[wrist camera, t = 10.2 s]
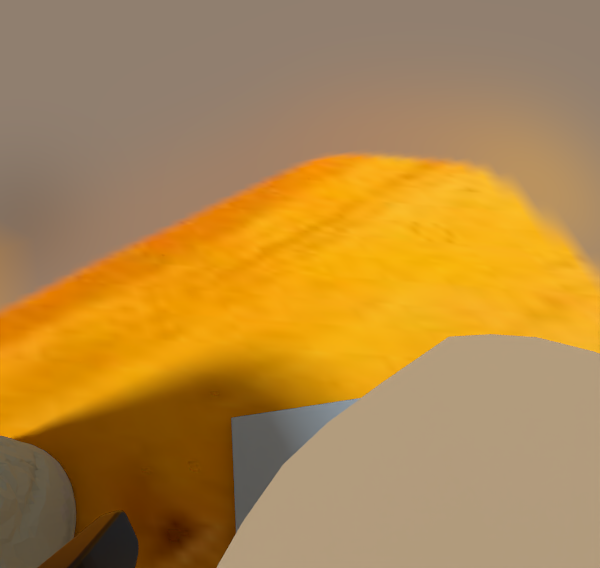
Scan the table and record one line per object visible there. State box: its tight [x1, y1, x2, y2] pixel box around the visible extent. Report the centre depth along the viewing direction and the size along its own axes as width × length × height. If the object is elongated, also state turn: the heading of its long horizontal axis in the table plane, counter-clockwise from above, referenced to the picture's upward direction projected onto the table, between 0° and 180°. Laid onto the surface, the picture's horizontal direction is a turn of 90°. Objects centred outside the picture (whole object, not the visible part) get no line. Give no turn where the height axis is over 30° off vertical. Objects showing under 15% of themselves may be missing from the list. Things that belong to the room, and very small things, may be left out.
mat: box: [231, 398, 361, 533], centre depth 16 cm, size 9×9×1 cm
